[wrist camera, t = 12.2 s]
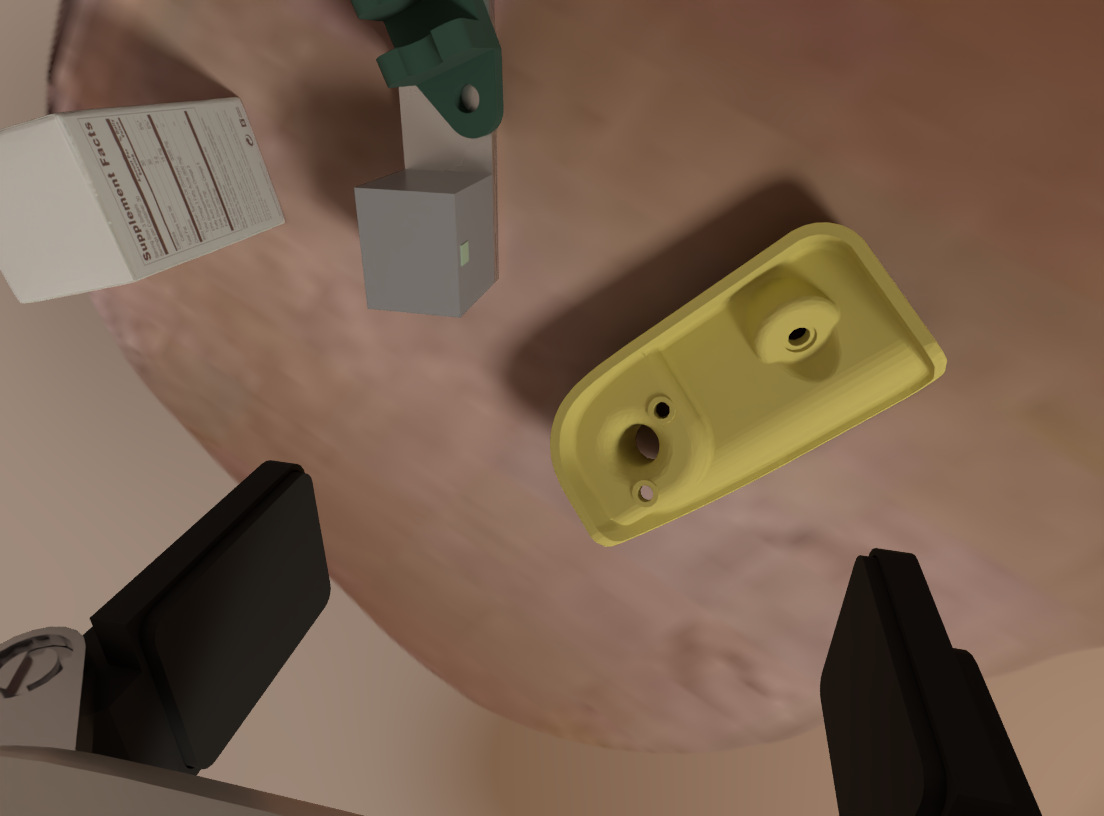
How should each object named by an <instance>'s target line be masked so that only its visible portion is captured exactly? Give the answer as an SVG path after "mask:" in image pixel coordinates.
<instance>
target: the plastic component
mask: <svg viewBox="0 0 1104 816" xmlns="http://www.w3.org/2000/svg"><path fill="white" fill-rule="evenodd" d="M798 328H806V332H805V334H804V335H803V336H802V337H801V338H798V339H796V340H790V339H788V338H789V335H790V334H791V332H792V331H793V330H795V329H798ZM946 363H947V359H946V357H945V355H944V353H943V351H942V349H941V348H940V346H939V345H938V343H937V342H936V340H935V339H934V337H933V336H932V335H931V333H930V332H929V330H928V329H927V328H926V326H925V325H924V323H923V322H922V321H921V319H920V318H919V316H918V315H917V314H916V312H915V311H914V309H913V308H912V307H911V305H910V304H909V302H908V301H907V300H906V298H905V297H904V295H903V294H902V293H901V291H900V290H899V288H898V287H897V286H896V284H895V283H894V281H893V280H892V279H891V277H890V276H889V274H888V273H887V272H886V270H885V269H884V267H883V266H882V265H881V263H880V262H879V260H878V259H877V258H876V256H875V255H874V253H873V252H872V251H871V249H870V248H869V246H868V245H867V244H866V242H865V241H864V239H863V238H861V237H860V236H859V235H858V234H857V233H856V232H854V231H853V230H851V229H849V228H847V227H845V226H842V225H839V224H834V223H829V222H823V223H812V224H808V225H804V226H802V227H800V228H797V229H795V230H793V231H791V232H790V233H788V234H787V235H786V236H784V237H783V238H781V239H780V240H778V241H777V242H775V243H774V244H772V245H771V246H770V247H768V248H767V249H765V250H764V251H762V252H761V253H759V254H758V255H756V256H755V257H754V258H752V259H751V260H749V261H748V262H746V263H745V264H743V265H742V266H741V267H739V268H738V269H736V270H735V271H733V272H732V273H730V274H729V275H727V276H726V277H725V278H723V279H722V280H720V281H719V282H717V283H716V284H714V285H713V286H711V287H710V288H709V289H707V290H706V291H704V292H703V293H701V294H700V295H698V296H697V297H695V298H694V299H693V300H691V301H690V302H688V303H687V304H685V305H684V306H682V307H681V308H680V309H678V310H677V311H675V312H674V313H672V314H671V315H669V316H668V317H666V318H665V319H664V320H662V321H661V322H659V323H658V324H656V325H655V326H653V327H652V328H650V329H649V330H648V331H646V332H645V333H643V334H642V335H640V336H639V337H637V338H636V339H635V340H633V341H632V342H630V343H629V344H627V345H626V346H624V347H623V348H621V349H620V350H619V351H617V352H616V353H615V354H613V355H612V356H610V357H609V358H608V359H606V360H605V361H604V362H602V363H601V364H599V365H598V366H597V367H596V368H594V369H593V370H592V371H591V372H589V373H588V374H587V375H586V376H585V377H584V378H583V379H581V380H580V381H579V382H578V383H577V384H576V385H575V386H574V387H573V388H572V390H571V391H570V392H569V393H568V394H567V396H566V397H565V398H564V400H563V402H562V403H561V405H560V406H559V409H558V411H557V413H556V415H555V418H554V422H553V425H552V430H551V437H550V450H551V459H552V463H553V467H554V471H555V473H556V476H557V478H558V480H559V483H560V485H561V487H562V489H563V491H564V492H565V494H566V496H567V498H568V499H569V501H570V503H571V504H572V506H573V508H574V509H575V511H576V513H577V514H578V516H579V518H580V519H581V521H582V523H583V524H584V526H585V528H586V530H587V531H588V533H589V535H590V536H591V538H592V539H593V540H594V541H595V542H597V543H599V544H601V545H603V546H614V545H617V544H620V543H622V542H625V541H627V540H630V539H632V538H634V537H637V536H639V535H641V534H644V533H646V532H648V531H651V530H653V529H655V528H657V527H660V526H662V525H664V524H666V523H668V522H671V521H673V520H675V519H677V518H679V517H681V516H684V515H686V514H688V513H690V512H692V511H694V510H696V509H698V508H701V507H703V506H705V505H707V504H709V503H711V502H713V501H715V500H717V499H719V498H721V497H723V496H725V495H727V494H729V493H731V492H733V491H735V490H737V489H739V488H741V487H743V486H745V485H747V484H749V483H751V482H753V481H755V480H757V479H759V478H760V477H762V476H764V475H766V474H768V473H770V472H772V471H774V470H776V469H778V468H779V467H781V466H783V465H785V464H787V463H789V462H791V461H792V460H794V459H796V458H798V457H800V456H802V455H803V454H805V453H807V452H809V451H811V450H813V449H814V448H816V447H818V446H820V445H822V444H824V443H825V442H827V441H829V440H831V439H833V438H835V437H836V436H838V435H840V434H842V433H844V432H845V431H847V430H849V429H851V428H853V427H855V426H856V425H858V424H860V423H862V422H864V421H866V420H867V419H869V418H871V417H873V416H875V415H877V414H878V413H880V412H882V411H884V410H886V409H888V408H889V407H891V406H893V405H895V404H897V403H898V402H900V401H902V400H904V399H906V398H907V397H909V396H911V395H913V394H914V393H916V392H918V391H919V390H921V389H922V388H924V387H926V386H927V385H929V384H930V383H932V382H933V381H935V380H936V379H937V378H939V377H940V376H941V375H942V374H943V373H944V372H945V368H946ZM660 402H665V403H666V404H667V405H668V406H669V409H670V413H669V415H668V416H665V417H659V415H658V414H657V412H656V408H657V405H658V404H659V403H660ZM643 424H644V425H647V426H648V427H650V428H651V429H652V430H653V431H654V432H655V433H656V435H657V437H658V440H659V453H658V455H657V457H656V459H650V458H647V457H645V456H644V455H643V454H641V453H640V451H639V449H638V448H637V445H636V438H635V437H636V434H637V431H638V429H639V428H640V426H641V425H643ZM643 485H646V486H649V487H650V488H651V489H652V490H653V498H652V499H651V500H647V499H644V498H643V497H642V495H641V491H640V490H641V488H642V486H643Z"/></svg>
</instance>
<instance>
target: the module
mask: <svg viewBox="0 0 1104 816" xmlns="http://www.w3.org/2000/svg"><path fill="white" fill-rule="evenodd" d="M354 192H355V201H356V210H357V219H358V228H359V236H360V245H361V254H362V263H363V272H364V281H365V289H366V298H367V307H368V309H376V310H387V311H397V312H407V313H417V314H428V315H438V316H448V317H458V318H460V317H461V316H462V315H463V314H464V313H465V312H466V311H467V310H468V309H469V308H470V307H471V306H472V305H473V304H474V303H475V302H476V301H477V300H478V299H479V298H480V297H481V296H482V295H483V294H484V293H485V292H486V291H487V290H488V289H489V288H490V287H491V286H492V285H493V284H494V283H495V277H494V227H493V177H492V174H480V173H463V172H445V171H428V170H410V169H404V170H401V171H399V172H396V173H393V174H390V175H388V176H385V177H382V178H379V179H377V180H374V181H371V182H368V183H365V184H363V185H360V186H357V187H354Z"/></svg>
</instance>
